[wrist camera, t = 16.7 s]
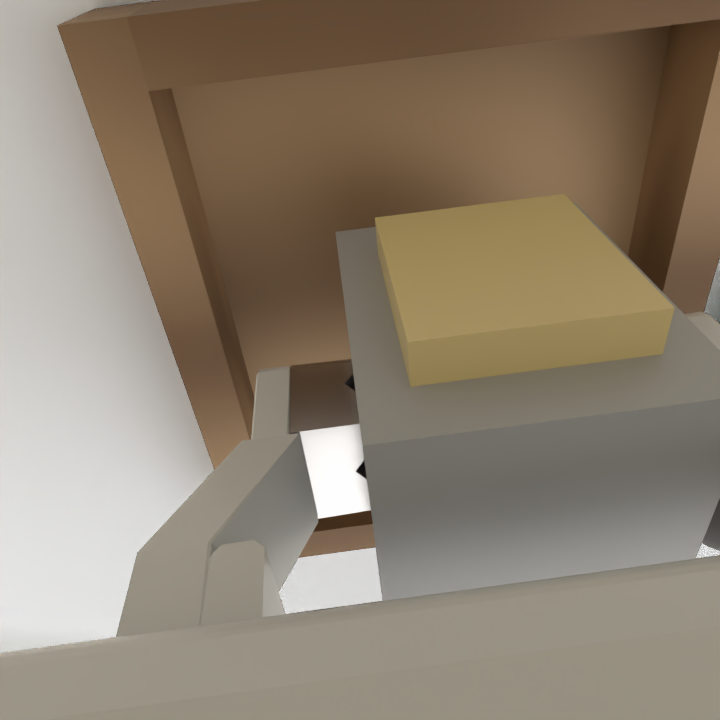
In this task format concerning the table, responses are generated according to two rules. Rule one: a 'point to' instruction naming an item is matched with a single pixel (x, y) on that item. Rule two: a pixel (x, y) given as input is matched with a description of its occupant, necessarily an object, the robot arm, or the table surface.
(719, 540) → the grey rounded bar
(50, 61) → the table surface
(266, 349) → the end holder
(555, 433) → the connector plug
